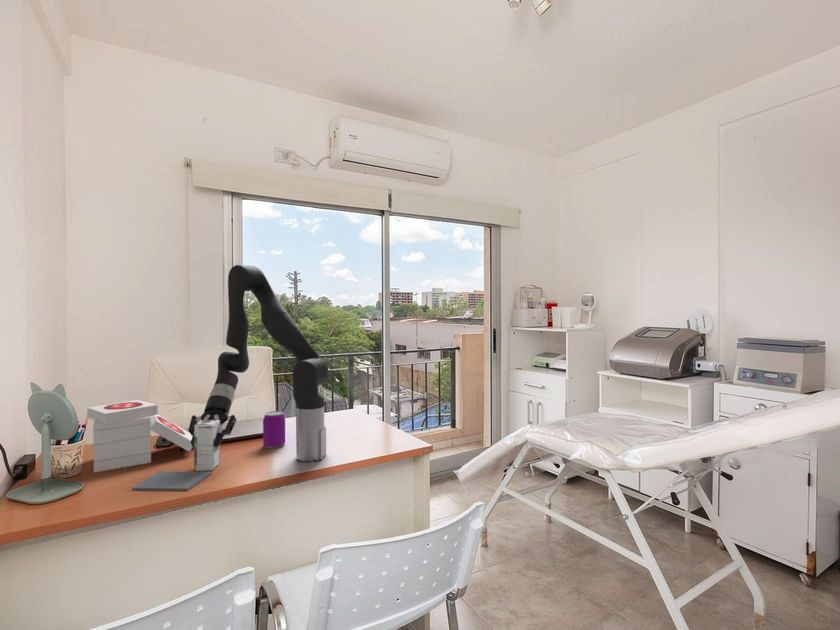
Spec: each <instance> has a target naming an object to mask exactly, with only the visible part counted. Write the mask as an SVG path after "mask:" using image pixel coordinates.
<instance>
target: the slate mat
mask: <svg viewBox="0 0 840 630" xmlns="http://www.w3.org/2000/svg"><path fill="white" fill-rule="evenodd" d="M212 473H213V472H212V471H178V470H177V471H174V470H173V471H172V470H171V471H170V470H169V471H168V470H165V471H163V470H161V471H158V472H157V473H155V474H153V475H151V476H149V477H148V478H146V479H145V480H142V481H141V482H139V483H137V484H135V485H134V486H132V487H131V490H132V491H184V490H189V491H190V490H191V489H192V488H194V487H195V486H197V485H198V484H199V482H200V483H201V482H202V481H204V480H205V479H207V478H208V477H209V476H210V475H212Z"/></svg>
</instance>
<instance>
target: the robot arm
mask: <svg viewBox="0 0 840 630" xmlns="http://www.w3.org/2000/svg"><path fill="white" fill-rule="evenodd" d="M245 292H251V293H252V295H254V297H255V298H256V299H257V302H258V303H259V305H260V319H261V322H262V323H261V324H262V325H263V327H264V328H265V329H266V332H267V333H268V334H269V336H270V337H271V338H272V339H273V340H274V341H275V342H276V343H277V344H278V345H280V346H281V347H283V348H284V349H285V350H286V351H288V352H289V353H290V354H291V355H293V356H294V357H295V359H296V360H297V361H298V362H297V363H296V364H295V365H294V367H293V369H292V390H293V391H292V392H293V399H294V401H295V407H296V408H295V413H296V414H295V432H296V433H295V435H296V436H295V441H296V442H295V445H296V448H295V449H296V452H295V454H296V456H295V457H296V458H297V459H298V460H297V459H296V460H297V461H299V460H302V461H301V462H304V461H310V462H314V461H313V460H317V461H319V460H318V459H322V458H323V457H325V456H326V455H327V427H326V426H325V398H324V397H323V395H320V394H319V392H318V385H321V384H323V383H324V382H326V381H327V380H328V378H329V368H328V366H327V365H328V364H327V363H326V361H325V360H324V359H323V358H322V357H321V356H320V354H319V353H318V352H317V351H316V349H314V347H313V346H312V345H311V344H310V343H309V341H308V340H307V339H306V336H305V335H304V334H303V333H302V331H301V330H300V329H299V327H298V325H297V324H296V322H295V320H294V319H293V318H292V316H291V315H290V313H289V312H288V311H287V309H286V308H285V307H284V306H283V304H282V302H281V301H280V299H279V298H278V296H277V295H276V293H275V291H274V289H273V288H272V286H271V285H270V281H269V280H268V278H267V277H266V275H265V273H264V272H263V270H262V269H261V268H260V267H258V266H255V265H247V264H236V265H233V266H232V267H231V268H230V269H229V272H228V276H227V293H228V294H227V295H228V297H227V299H228V324H227V332H226V338H225V339H226V340H225V343H226V346H228V347H230V348H231V349H232V348H233V349H235V350H237V352H234V351H233V352H231V351H223V352H222V353H220V355H219V356H218V360H217V376H216V380H215V382H214V385H213V387H212V389H211V392H210V393H209V396H208V399H207V402H206V405H205V408H204V412H203V413H202V415H200V416H196V415H192V416H191V418H190V423H189V425H188V426H189V427H188V430H187V432H189V433H190V434H191V436H192V440H191V445H192V449H194V429H195V428H194V427H195V425H196V424H198V423H199V422H201V421H203V420H220V422H219V428H218V432H219V433H218V434H217V436H216V439H215V442H214V446H215V447H218V446H219V445H220V446H221V445H222V442H223V439H224V437H225V436H226V435H227V436H230V435H231V433H232V432H233V429H234V426H235V424H236V422H237V417H236V416H235V414H231V415H229V413H230V411H231V407H232V404H233V401H234V397H235V391H236V389H237V386H238V383H239V377H238V375H237V374H236V373H239V374H242V373H245V372H246V371H247V370H248V368H249V365H250V359H249V353H248V337H249V330H250V324H249V323H250V322H249V318H248V315H247V313H246V310H245V305H244V297H245ZM225 423H227V424H226V426H225V428H224V424H225ZM325 454H326V455H325ZM323 459H324V458H323ZM323 459H322V460H323Z"/></svg>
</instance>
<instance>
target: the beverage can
mask: <svg viewBox="0 0 840 630" xmlns="http://www.w3.org/2000/svg"><path fill="white" fill-rule="evenodd" d="M284 414H285V413H284V411H281V410H279V411H278V410H273V411H268V412H265V415H264V417H263V419H262V431H263V432H262V434H263V435H262V439H263V440H262V444H263V446H264V447H265V448H266V449H277V447H278V448H281V447H283V446H284V445H285V444H286V416H285V415H284Z"/></svg>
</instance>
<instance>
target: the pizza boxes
mask: <svg viewBox="0 0 840 630" xmlns="http://www.w3.org/2000/svg"><path fill="white" fill-rule="evenodd" d="M158 408H159V407H158V404H155V403H152V402H148V401H145V400H140V399H135V400H128V401H127V400H126V401H123V402H122V401H121V402H116V403H110V404H109V403H108V404H103V405H95V406H89V407H87V408H86V414H87V416H86V417H88V419H90V420H93V421H94V422H93V424H92V426H93V435H92V436H93V473H99V472H105V470H106V471H110V469H111V470H116V469H115V468H117V469H122V468H121V467H123V468H128V467H133V466H138V465H139V464H140V465H145V464H151V462H152V445H151V444H152V440H151V439H152V434H151V433H152V432H153V433H155V434H157V435H158V436H161V437H162V438H164V439H165V440H168V441H169V442H170V443H173V444H175V445H177V446H179V447H180V448H182V449H183V450H185V451H187V452H190V451H191V450H192V449H193V447H192V445H191V440H192V437H193V435H191V434H190V432H189V431H188V430H185V429H184V428H183V427H180V426H179V425H177V424H175V423H173V422H171V421H170V420H168V419H167V418H165V417H163V416H162V415H159V414H158V412H159V411H158ZM127 466H128V467H127Z"/></svg>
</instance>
